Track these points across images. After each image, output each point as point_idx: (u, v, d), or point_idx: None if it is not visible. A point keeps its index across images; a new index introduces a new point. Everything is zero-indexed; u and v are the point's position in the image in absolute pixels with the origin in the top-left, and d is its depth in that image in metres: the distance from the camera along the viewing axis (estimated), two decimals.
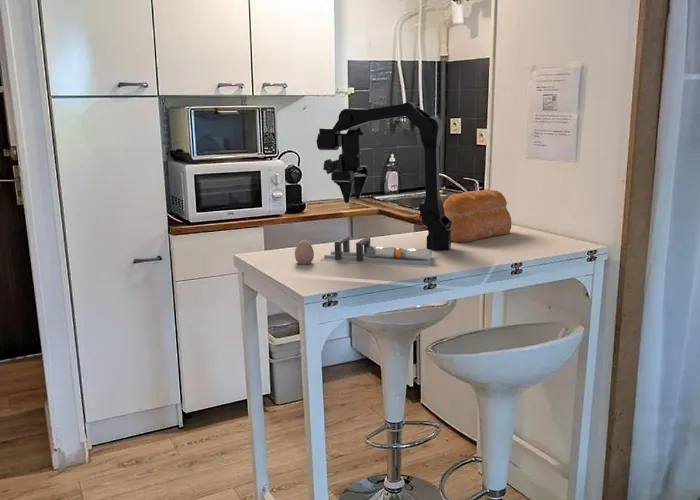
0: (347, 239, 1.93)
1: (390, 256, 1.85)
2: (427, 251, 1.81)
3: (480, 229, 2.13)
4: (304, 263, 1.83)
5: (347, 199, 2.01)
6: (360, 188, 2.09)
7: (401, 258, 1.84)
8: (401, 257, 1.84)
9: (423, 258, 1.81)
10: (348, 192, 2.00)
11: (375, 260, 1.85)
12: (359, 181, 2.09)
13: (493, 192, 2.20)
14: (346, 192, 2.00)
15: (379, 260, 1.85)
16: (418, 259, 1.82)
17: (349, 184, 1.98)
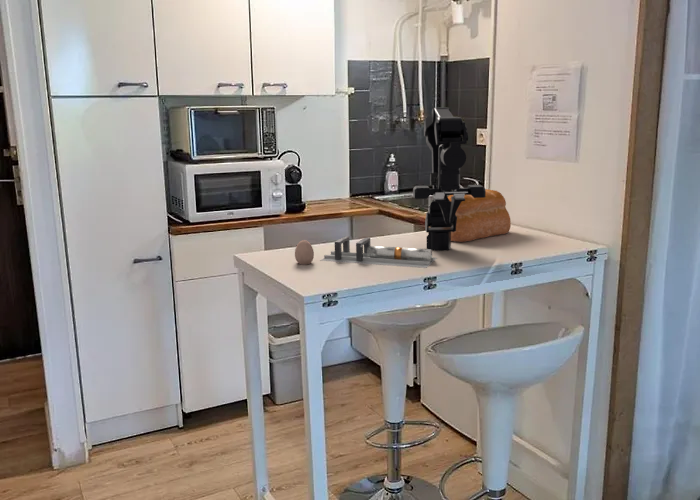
0: (347, 239, 1.93)
1: (390, 254, 1.85)
2: (428, 249, 1.82)
3: (480, 229, 2.13)
4: (304, 263, 1.83)
5: (444, 219, 1.78)
6: (451, 212, 1.77)
7: (401, 256, 1.84)
8: (402, 254, 1.84)
9: (423, 255, 1.82)
10: (442, 211, 1.77)
11: (375, 260, 1.85)
12: (452, 203, 1.77)
13: (492, 192, 2.20)
14: (442, 211, 1.77)
15: (379, 260, 1.85)
16: (418, 257, 1.82)
17: None
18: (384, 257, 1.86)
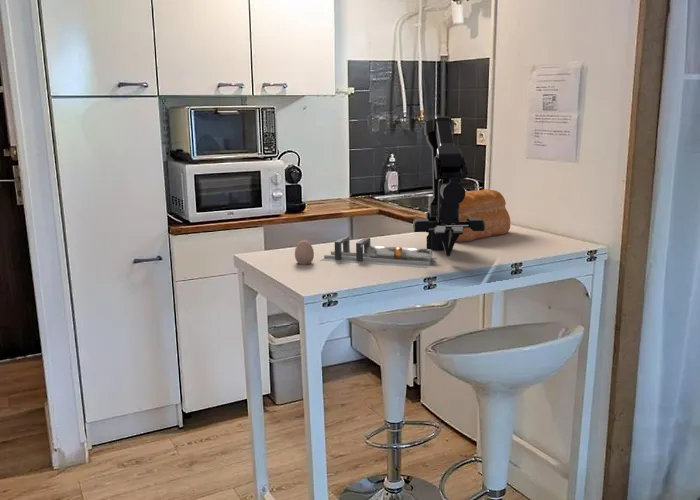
0: (347, 239, 1.93)
1: (390, 254, 1.85)
2: (428, 249, 1.82)
3: None
4: (304, 263, 1.83)
5: (445, 252, 1.80)
6: (449, 244, 1.79)
7: (401, 256, 1.84)
8: (402, 254, 1.84)
9: (423, 255, 1.82)
10: (443, 244, 1.79)
11: (375, 260, 1.85)
12: (450, 236, 1.79)
13: (492, 192, 2.20)
14: (443, 244, 1.79)
15: (379, 260, 1.85)
16: (418, 257, 1.82)
17: None
18: (384, 257, 1.86)
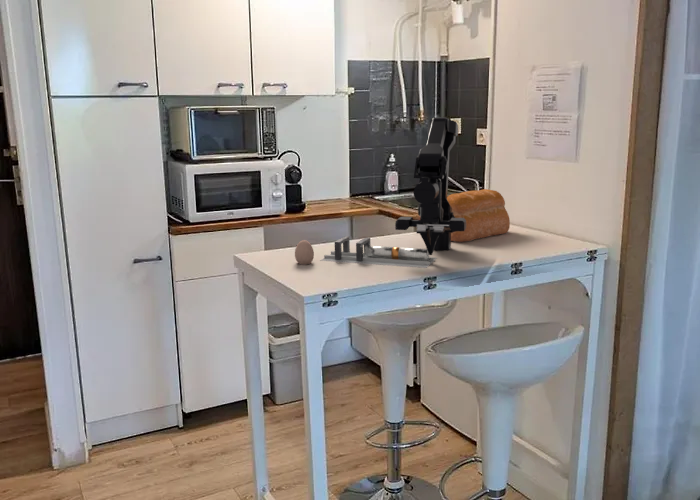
0: (347, 239, 1.93)
1: (387, 253, 1.85)
2: (425, 249, 1.83)
3: (479, 229, 2.13)
4: (304, 263, 1.83)
5: None
6: (430, 243, 1.80)
7: (399, 255, 1.84)
8: (399, 254, 1.84)
9: (421, 255, 1.82)
10: None
11: (375, 260, 1.85)
12: None
13: (491, 192, 2.20)
14: None
15: (379, 260, 1.85)
16: (415, 256, 1.83)
17: None
18: (381, 257, 1.86)
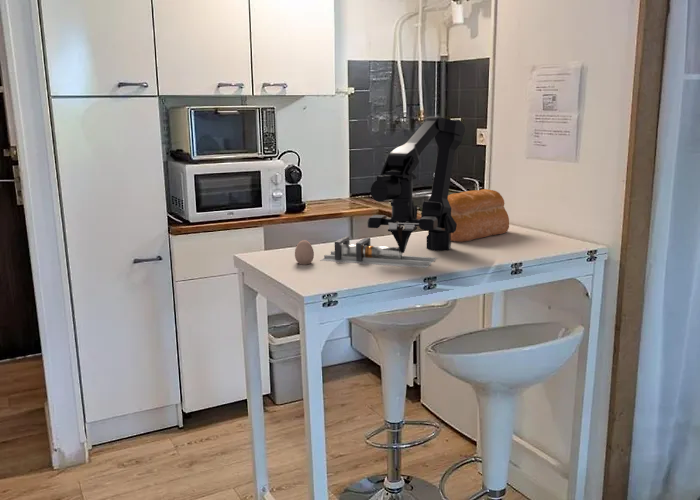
0: (347, 239, 1.93)
1: None
2: (398, 247, 1.85)
3: (479, 229, 2.14)
4: (304, 263, 1.83)
5: None
6: None
7: (372, 254, 1.87)
8: (372, 252, 1.87)
9: (393, 253, 1.85)
10: None
11: (375, 260, 1.85)
12: None
13: (491, 192, 2.20)
14: None
15: (379, 260, 1.85)
16: (388, 255, 1.85)
17: None
18: (355, 255, 1.89)
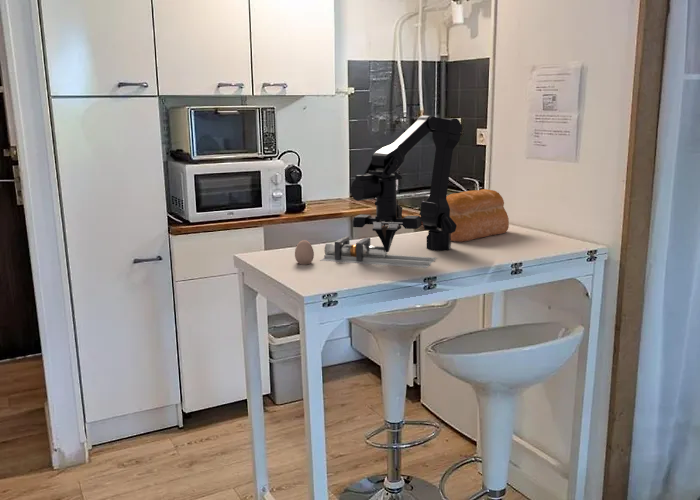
0: (347, 239, 1.93)
1: (347, 250, 1.90)
2: (383, 247, 1.87)
3: (478, 229, 2.14)
4: (304, 263, 1.83)
5: None
6: None
7: None
8: None
9: (378, 252, 1.86)
10: None
11: (375, 260, 1.85)
12: None
13: (491, 192, 2.20)
14: None
15: (379, 260, 1.85)
16: (373, 254, 1.87)
17: None
18: None
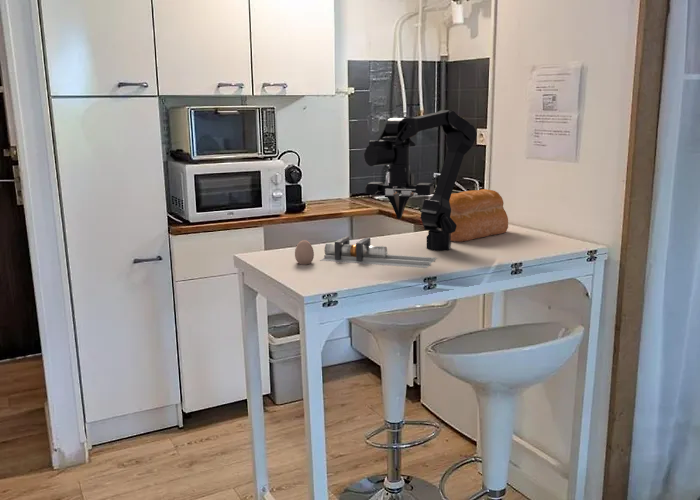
0: (347, 239, 1.93)
1: (347, 250, 1.90)
2: (383, 247, 1.87)
3: (478, 229, 2.14)
4: (304, 263, 1.83)
5: None
6: None
7: None
8: None
9: (378, 252, 1.86)
10: None
11: (375, 260, 1.85)
12: None
13: (490, 192, 2.21)
14: None
15: (379, 260, 1.85)
16: (373, 254, 1.87)
17: None
18: None
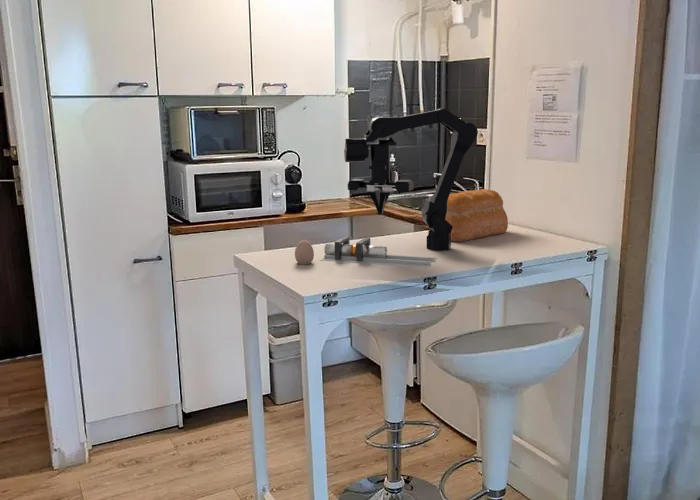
0: (347, 239, 1.93)
1: (347, 250, 1.90)
2: (383, 247, 1.87)
3: (478, 229, 2.14)
4: (304, 263, 1.83)
5: None
6: None
7: None
8: None
9: (378, 252, 1.86)
10: None
11: (375, 260, 1.85)
12: None
13: (490, 192, 2.21)
14: None
15: (379, 260, 1.85)
16: (373, 254, 1.87)
17: None
18: None
